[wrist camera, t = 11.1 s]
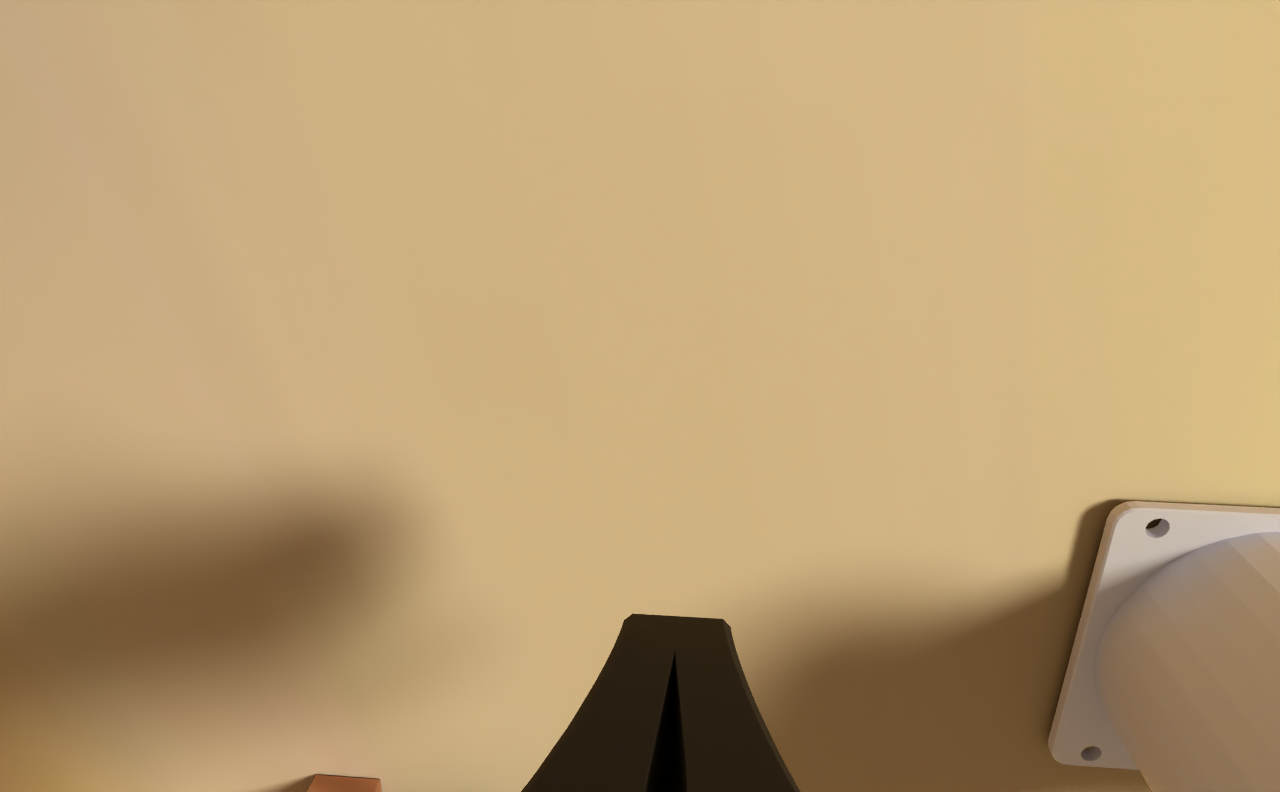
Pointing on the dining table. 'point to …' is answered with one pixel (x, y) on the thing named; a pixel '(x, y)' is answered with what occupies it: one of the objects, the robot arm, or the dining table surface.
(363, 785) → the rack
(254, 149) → the dining table surface
